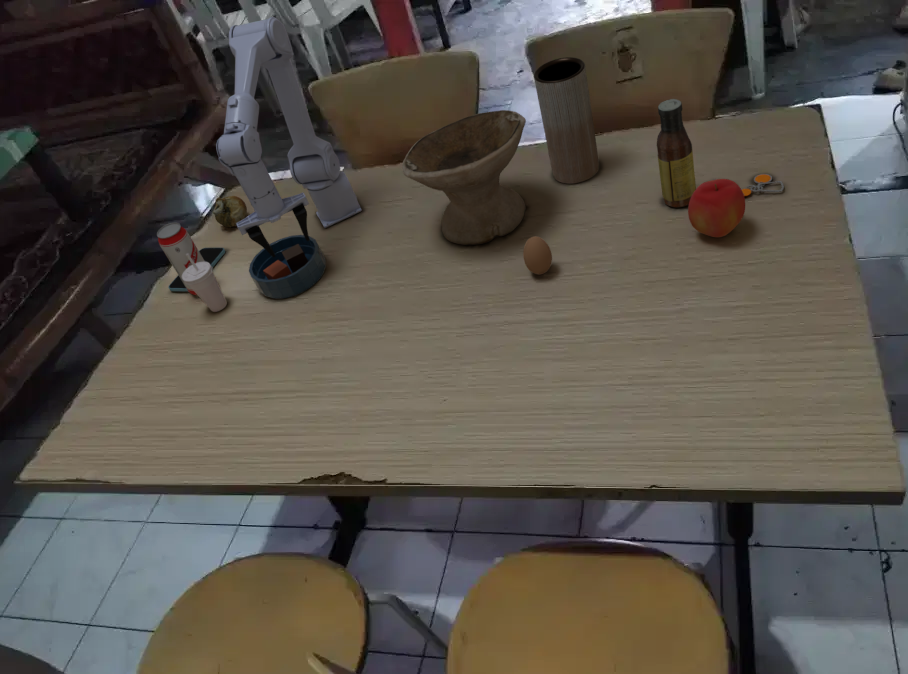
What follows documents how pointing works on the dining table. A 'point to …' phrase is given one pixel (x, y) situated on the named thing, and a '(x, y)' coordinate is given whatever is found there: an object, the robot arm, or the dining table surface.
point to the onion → (230, 210)
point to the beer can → (178, 248)
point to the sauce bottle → (675, 156)
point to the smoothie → (204, 284)
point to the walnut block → (295, 257)
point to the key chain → (761, 180)
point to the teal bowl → (296, 280)
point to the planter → (567, 119)
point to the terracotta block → (277, 270)
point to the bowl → (471, 174)
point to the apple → (716, 207)
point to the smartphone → (208, 255)
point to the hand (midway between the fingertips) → (290, 246)
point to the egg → (537, 255)
